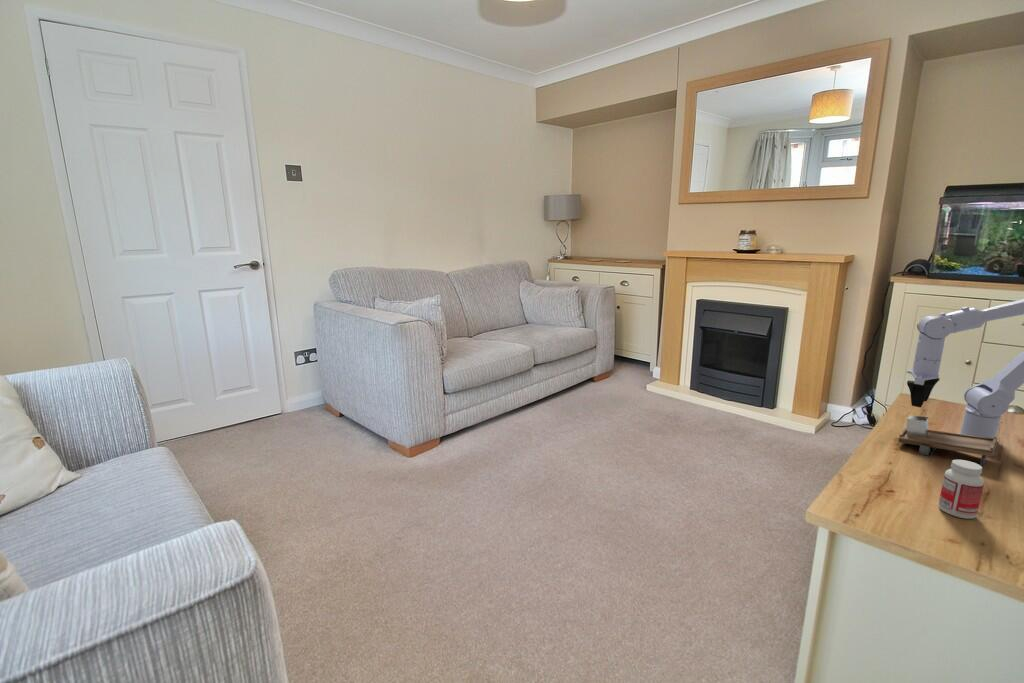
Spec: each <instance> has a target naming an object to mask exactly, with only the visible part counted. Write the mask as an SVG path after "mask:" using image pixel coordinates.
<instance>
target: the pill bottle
mask: <svg viewBox="0 0 1024 683" xmlns="http://www.w3.org/2000/svg"><path fill="white" fill-rule="evenodd" d="M982 472H983V466H980V463H979V464H978V463H977V462H972V461H970V460H966V459H965V460H964V459H953V460H951V464H950V468H948V469H946V470H945V472H944V475H943V480H942V486H941V490H940V495H939V500H938V508H939V509H940V510H941V511H943V512H945V513H947V514H948V515H951V516H953V517H957V518H960V519H965V520H966V519H969V520H971V519H975V518H976V517H977V516H978V513H979V508H980V504H981V500H982V494H983V490H984V486H985V481H984V478H983V477H982V476H981V475H982Z"/></svg>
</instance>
